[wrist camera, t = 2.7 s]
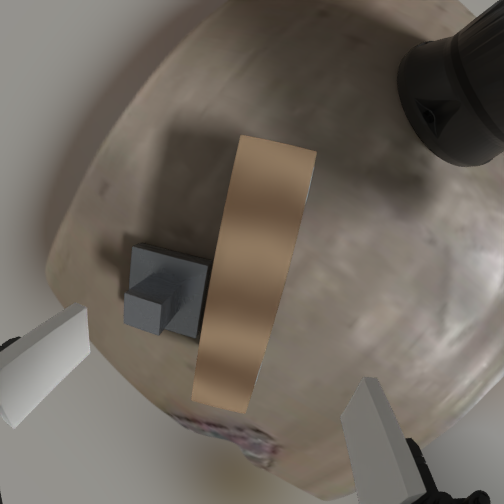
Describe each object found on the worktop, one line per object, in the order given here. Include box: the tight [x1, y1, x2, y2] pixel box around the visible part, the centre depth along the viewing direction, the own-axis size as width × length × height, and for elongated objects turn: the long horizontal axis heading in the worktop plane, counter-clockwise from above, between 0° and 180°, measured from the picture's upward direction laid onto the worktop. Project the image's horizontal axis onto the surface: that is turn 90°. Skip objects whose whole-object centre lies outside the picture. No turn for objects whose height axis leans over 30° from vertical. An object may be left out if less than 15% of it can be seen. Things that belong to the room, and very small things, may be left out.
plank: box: [191, 135, 317, 414], centre depth 21 cm, size 22×5×4 cm, turn 168°
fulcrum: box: [124, 243, 213, 338], centre depth 24 cm, size 8×8×7 cm
